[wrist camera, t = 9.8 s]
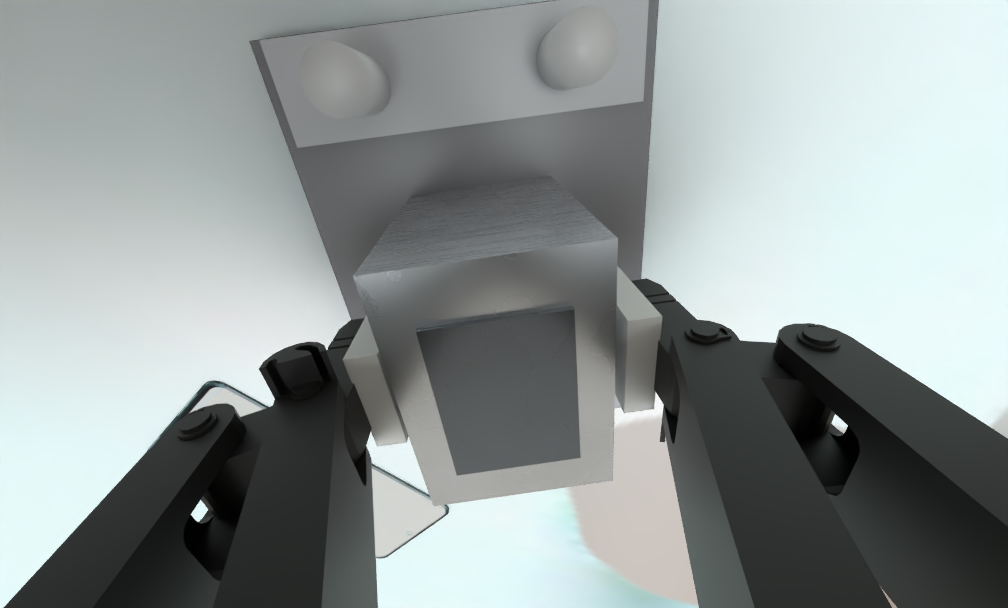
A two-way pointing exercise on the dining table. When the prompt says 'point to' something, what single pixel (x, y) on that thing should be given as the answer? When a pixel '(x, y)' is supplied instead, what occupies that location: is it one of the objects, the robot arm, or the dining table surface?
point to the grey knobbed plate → (468, 115)
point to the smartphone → (393, 499)
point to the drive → (498, 337)
